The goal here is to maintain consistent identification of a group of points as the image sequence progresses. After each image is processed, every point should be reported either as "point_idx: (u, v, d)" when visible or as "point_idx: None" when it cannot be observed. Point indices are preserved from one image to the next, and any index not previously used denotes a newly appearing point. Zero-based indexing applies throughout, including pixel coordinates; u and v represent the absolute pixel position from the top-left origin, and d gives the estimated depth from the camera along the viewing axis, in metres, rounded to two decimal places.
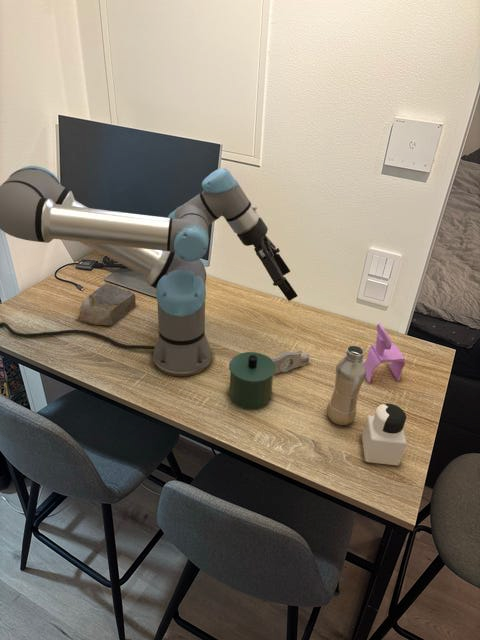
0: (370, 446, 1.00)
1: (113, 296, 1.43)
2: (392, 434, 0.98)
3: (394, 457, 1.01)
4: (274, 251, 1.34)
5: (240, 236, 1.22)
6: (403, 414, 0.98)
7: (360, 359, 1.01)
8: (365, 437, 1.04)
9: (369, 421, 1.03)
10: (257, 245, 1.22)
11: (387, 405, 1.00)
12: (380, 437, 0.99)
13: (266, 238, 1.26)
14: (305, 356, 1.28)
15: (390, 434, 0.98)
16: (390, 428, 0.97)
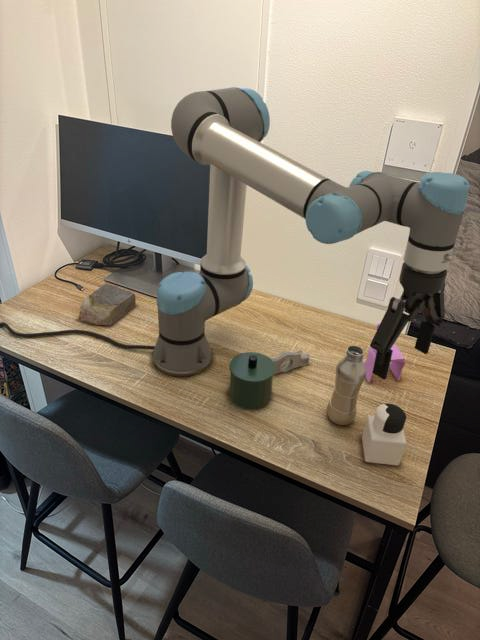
0: (370, 446, 1.00)
1: (113, 296, 1.43)
2: (392, 434, 0.98)
3: (394, 457, 1.01)
4: (432, 319, 0.94)
5: (403, 266, 0.86)
6: (403, 414, 0.98)
7: (360, 359, 1.01)
8: (365, 437, 1.04)
9: (369, 421, 1.03)
10: (405, 293, 0.85)
11: (387, 405, 1.00)
12: (380, 437, 0.99)
13: (429, 298, 0.87)
14: (305, 356, 1.28)
15: (390, 434, 0.98)
16: (390, 428, 0.97)
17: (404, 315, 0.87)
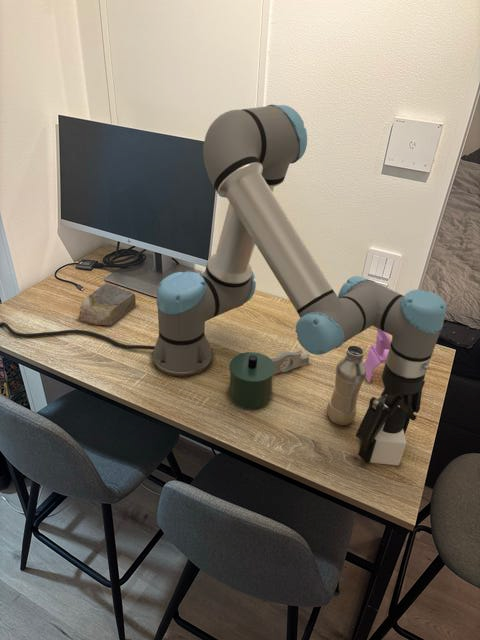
0: None
1: (113, 296, 1.43)
2: (392, 434, 0.98)
3: (394, 457, 1.01)
4: (407, 413, 1.02)
5: (385, 366, 0.93)
6: (403, 414, 0.98)
7: (360, 359, 1.01)
8: None
9: None
10: (386, 391, 0.93)
11: None
12: (380, 437, 0.99)
13: (408, 395, 0.95)
14: (305, 356, 1.28)
15: (390, 434, 0.98)
16: (390, 428, 0.97)
17: (385, 410, 0.95)
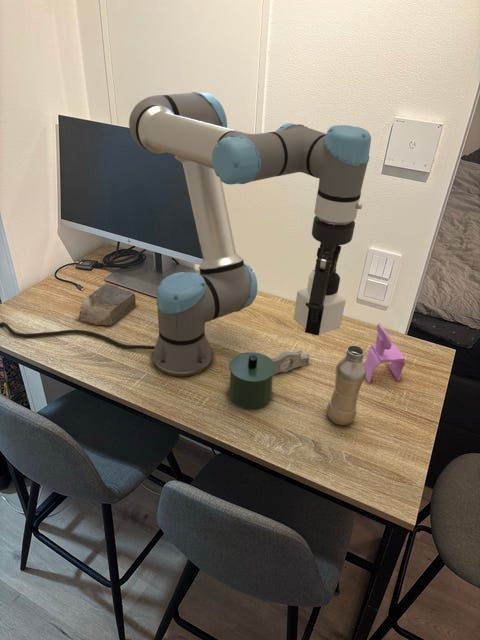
0: None
1: (113, 297, 1.43)
2: (333, 295, 0.95)
3: (336, 320, 0.98)
4: None
5: (316, 222, 0.87)
6: (335, 272, 0.95)
7: (360, 359, 1.01)
8: (302, 314, 0.98)
9: (303, 295, 0.97)
10: (325, 248, 0.88)
11: None
12: (324, 303, 0.94)
13: (340, 248, 0.92)
14: (305, 356, 1.28)
15: (332, 296, 0.94)
16: (331, 289, 0.93)
17: None
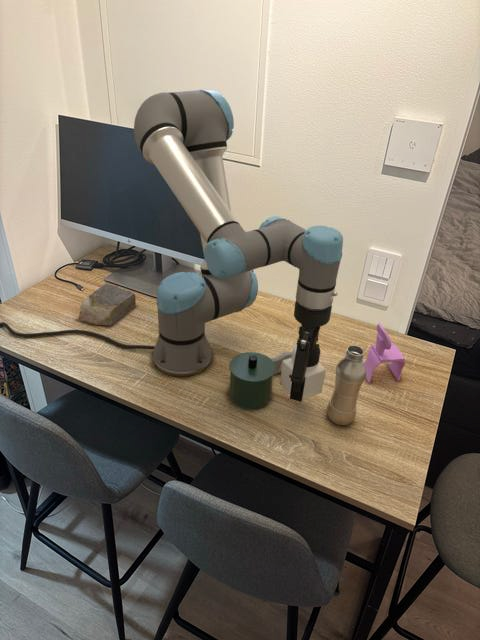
0: None
1: (113, 297, 1.43)
2: (314, 366, 1.05)
3: (318, 386, 1.09)
4: None
5: (297, 306, 0.98)
6: (316, 345, 1.06)
7: (360, 359, 1.01)
8: (287, 381, 1.09)
9: (288, 365, 1.08)
10: (305, 329, 0.99)
11: None
12: (306, 374, 1.05)
13: (319, 326, 1.03)
14: None
15: (313, 367, 1.05)
16: (312, 362, 1.04)
17: None
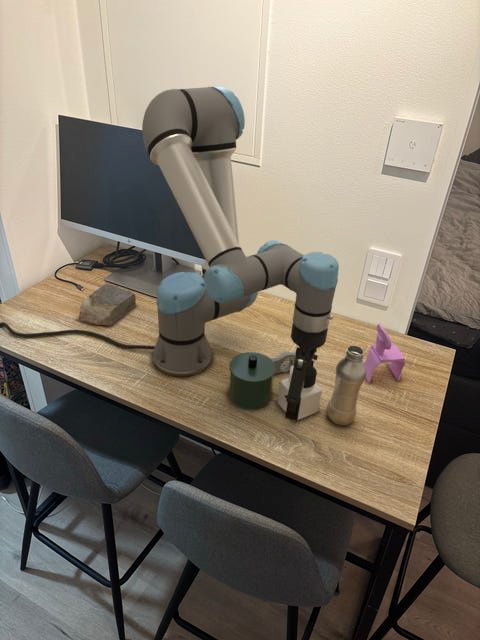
0: None
1: (113, 297, 1.43)
2: (311, 387, 1.09)
3: (314, 406, 1.12)
4: None
5: (294, 329, 1.01)
6: (312, 367, 1.10)
7: (360, 359, 1.01)
8: (285, 401, 1.13)
9: (285, 386, 1.11)
10: (302, 350, 1.02)
11: None
12: (303, 394, 1.09)
13: (315, 347, 1.06)
14: None
15: (309, 388, 1.09)
16: (309, 383, 1.08)
17: None
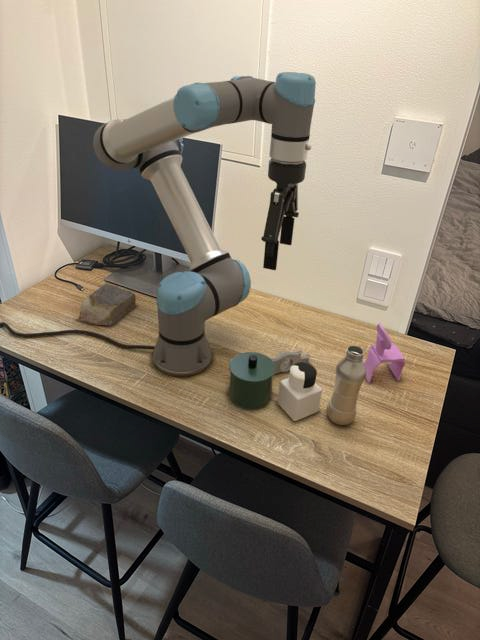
0: (297, 405, 1.09)
1: (113, 297, 1.43)
2: (311, 387, 1.09)
3: (314, 406, 1.12)
4: (292, 212, 1.09)
5: (271, 163, 0.96)
6: (312, 367, 1.10)
7: (360, 359, 1.01)
8: (285, 401, 1.13)
9: (285, 386, 1.11)
10: (279, 186, 0.97)
11: (297, 365, 1.10)
12: (303, 394, 1.09)
13: (294, 189, 1.01)
14: (305, 356, 1.28)
15: (309, 388, 1.09)
16: (309, 383, 1.08)
17: (281, 207, 0.99)
